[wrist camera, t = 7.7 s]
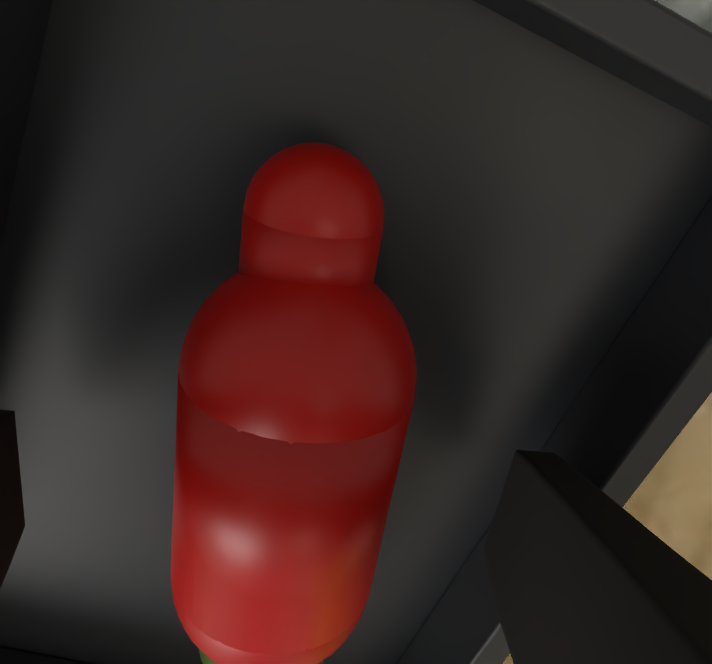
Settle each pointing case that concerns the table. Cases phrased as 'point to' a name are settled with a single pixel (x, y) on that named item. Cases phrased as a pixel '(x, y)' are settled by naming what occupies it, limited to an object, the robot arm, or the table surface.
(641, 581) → the robot arm
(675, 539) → the table surface
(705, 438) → the table surface
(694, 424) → the table surface
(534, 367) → the tray
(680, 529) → the table surface
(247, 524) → the chili
